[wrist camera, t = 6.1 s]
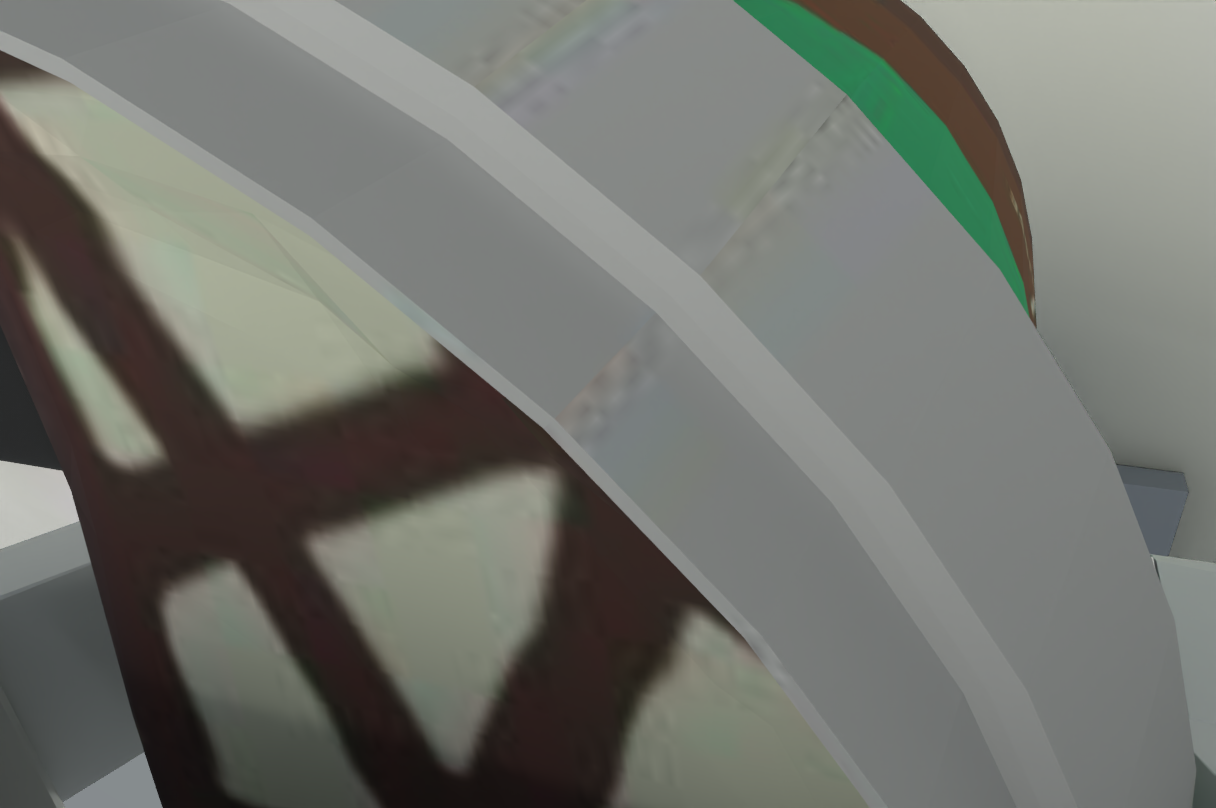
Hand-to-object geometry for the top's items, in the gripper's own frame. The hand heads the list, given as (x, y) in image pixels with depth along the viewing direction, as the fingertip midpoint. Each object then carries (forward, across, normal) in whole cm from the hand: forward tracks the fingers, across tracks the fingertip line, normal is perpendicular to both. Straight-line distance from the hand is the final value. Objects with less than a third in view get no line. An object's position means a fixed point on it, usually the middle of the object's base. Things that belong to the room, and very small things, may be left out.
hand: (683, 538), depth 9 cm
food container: (+6, -1, 0) cm, 6 cm away
